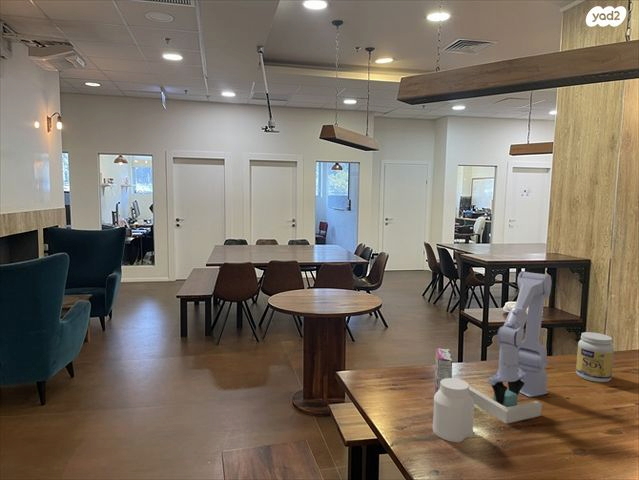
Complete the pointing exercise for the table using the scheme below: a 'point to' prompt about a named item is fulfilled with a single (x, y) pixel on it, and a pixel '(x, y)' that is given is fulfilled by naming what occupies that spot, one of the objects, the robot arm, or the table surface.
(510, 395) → the cube
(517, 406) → the white l-shaped block
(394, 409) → the table surface
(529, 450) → the table surface
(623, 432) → the table surface
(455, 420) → the jar
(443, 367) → the candy bar box
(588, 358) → the supplement tub
